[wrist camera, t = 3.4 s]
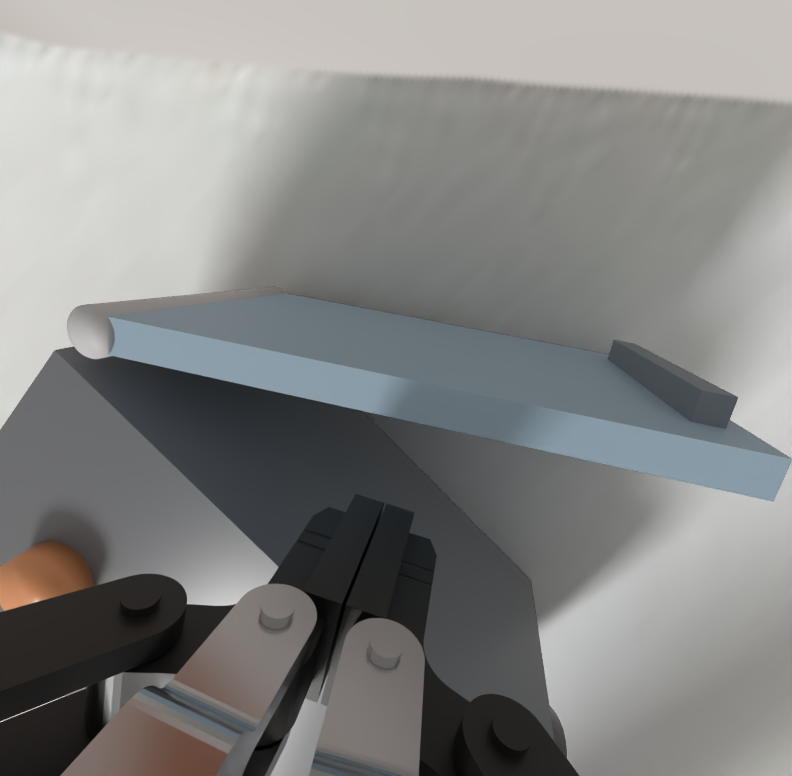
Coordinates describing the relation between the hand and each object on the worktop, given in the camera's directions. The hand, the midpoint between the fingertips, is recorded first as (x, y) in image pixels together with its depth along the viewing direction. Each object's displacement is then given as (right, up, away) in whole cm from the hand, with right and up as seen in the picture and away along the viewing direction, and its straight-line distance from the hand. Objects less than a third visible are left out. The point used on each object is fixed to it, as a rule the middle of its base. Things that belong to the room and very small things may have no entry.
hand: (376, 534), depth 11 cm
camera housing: (-2, -4, +15) cm, 15 cm away
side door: (+2, +6, +10) cm, 12 cm away
